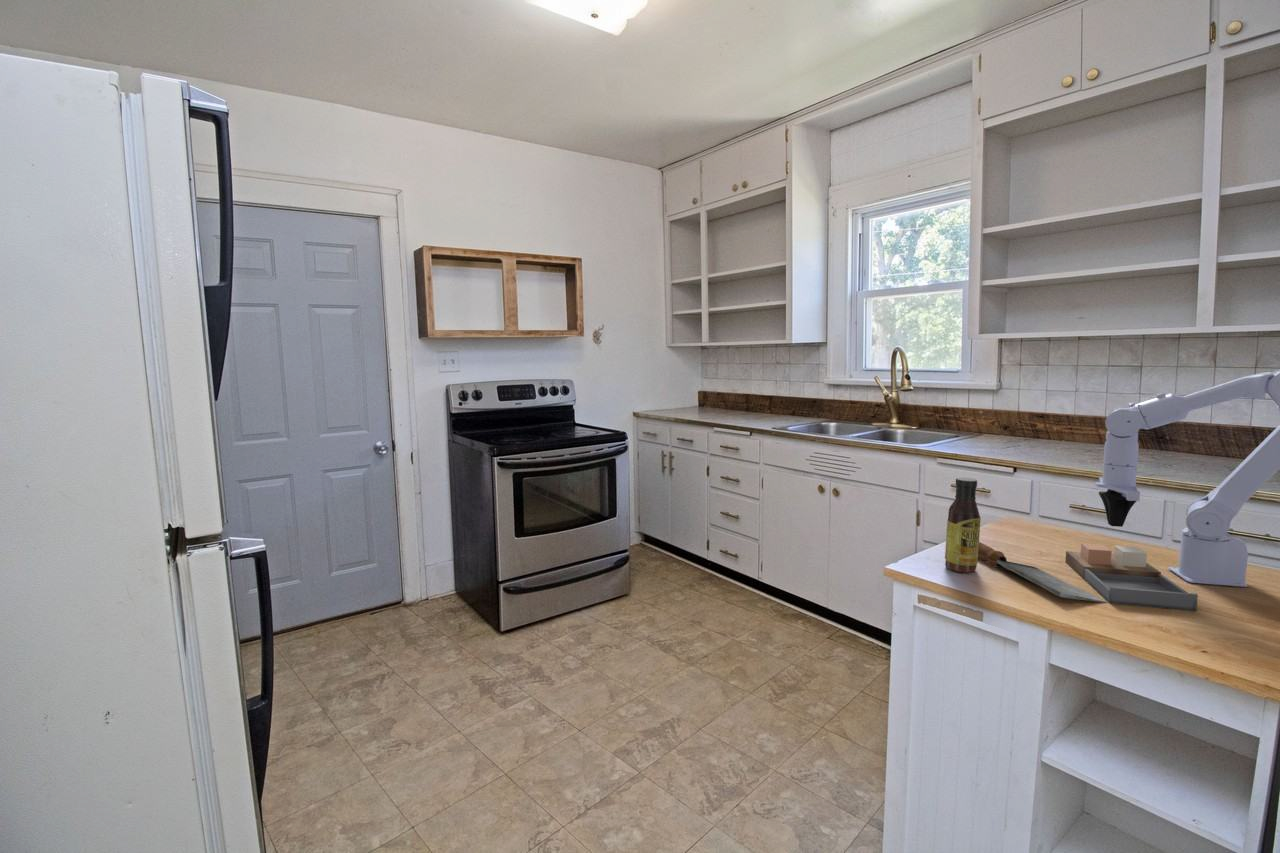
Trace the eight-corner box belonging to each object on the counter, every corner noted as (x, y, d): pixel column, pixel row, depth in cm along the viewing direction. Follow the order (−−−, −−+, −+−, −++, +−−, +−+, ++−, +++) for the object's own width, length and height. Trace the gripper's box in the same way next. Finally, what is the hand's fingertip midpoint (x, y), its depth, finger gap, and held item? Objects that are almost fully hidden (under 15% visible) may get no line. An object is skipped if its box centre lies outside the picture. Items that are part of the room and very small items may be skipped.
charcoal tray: (1160, 585, 119) (1162, 570, 119) (1196, 611, 108) (1197, 595, 107) (1083, 579, 123) (1084, 564, 123) (1109, 603, 111) (1111, 587, 111)
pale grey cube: (1136, 560, 126) (1137, 547, 125) (1145, 567, 122) (1146, 553, 122) (1113, 559, 127) (1114, 545, 127) (1122, 565, 123) (1123, 551, 123)
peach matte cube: (1102, 558, 128) (1103, 544, 127) (1110, 564, 124) (1111, 550, 123) (1080, 556, 129) (1081, 543, 128) (1087, 563, 125) (1088, 549, 125)
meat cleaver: (1116, 603, 112) (1118, 583, 112) (1059, 606, 111) (1060, 585, 111) (997, 548, 146) (998, 532, 145) (952, 549, 145) (953, 533, 144)
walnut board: (1136, 567, 129) (1136, 555, 129) (1159, 584, 120) (1161, 572, 119) (1065, 562, 133) (1066, 551, 133) (1083, 578, 123) (1083, 566, 123)
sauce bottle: (962, 576, 126) (966, 483, 124) (937, 566, 132) (941, 477, 130) (984, 571, 129) (989, 480, 126) (959, 562, 134) (963, 475, 132)
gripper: (1084, 457, 137) (1080, 515, 139) (1112, 469, 124) (1107, 533, 125) (1121, 458, 135) (1117, 517, 137) (1154, 471, 121) (1148, 536, 123)
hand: (1115, 525), depth 131 cm, fingers closed
